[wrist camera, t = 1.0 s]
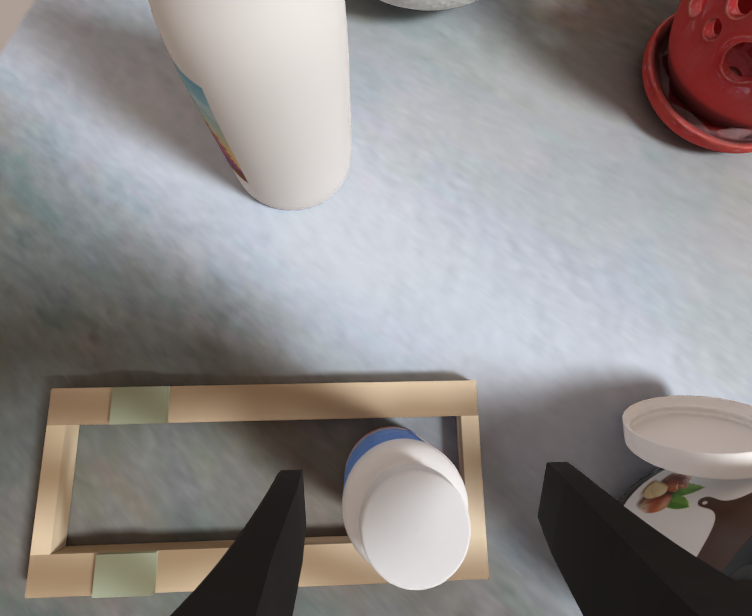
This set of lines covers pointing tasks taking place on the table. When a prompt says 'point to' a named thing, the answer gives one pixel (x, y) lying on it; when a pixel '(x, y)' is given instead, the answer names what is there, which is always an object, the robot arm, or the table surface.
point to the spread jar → (696, 476)
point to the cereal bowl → (428, 4)
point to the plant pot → (704, 73)
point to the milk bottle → (268, 89)
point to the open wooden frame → (215, 404)
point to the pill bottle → (405, 508)
